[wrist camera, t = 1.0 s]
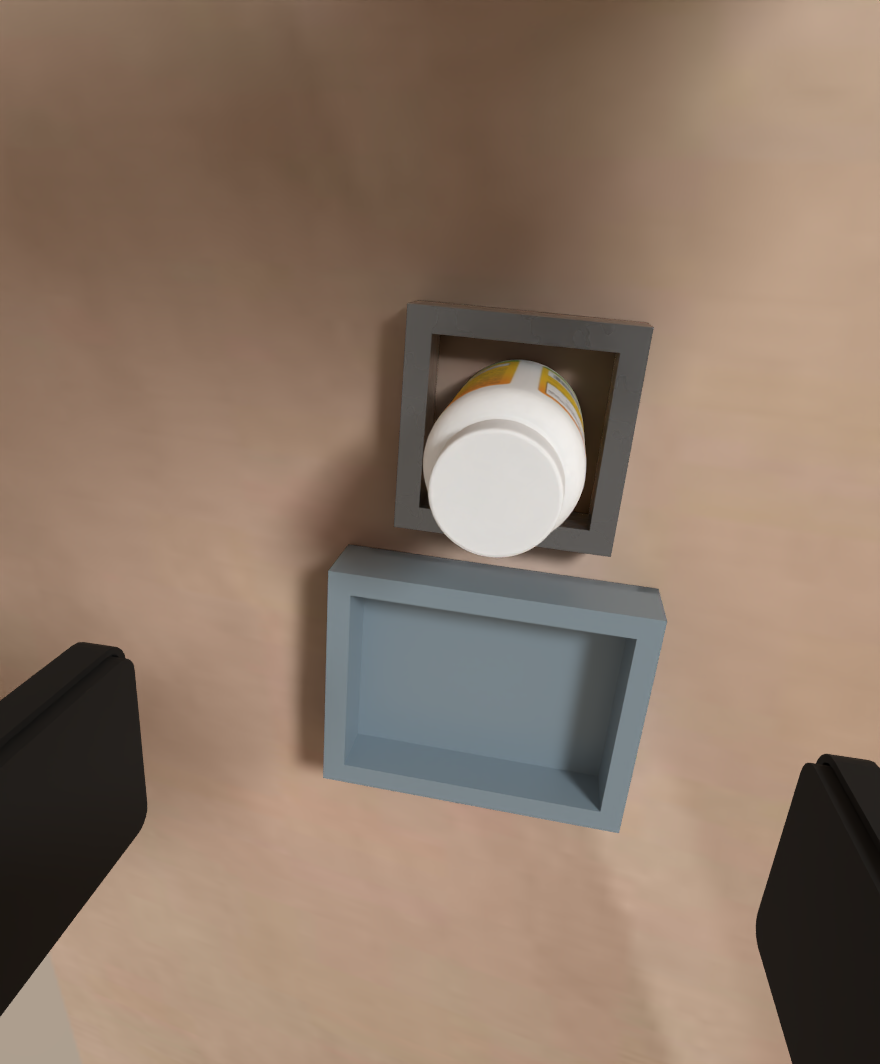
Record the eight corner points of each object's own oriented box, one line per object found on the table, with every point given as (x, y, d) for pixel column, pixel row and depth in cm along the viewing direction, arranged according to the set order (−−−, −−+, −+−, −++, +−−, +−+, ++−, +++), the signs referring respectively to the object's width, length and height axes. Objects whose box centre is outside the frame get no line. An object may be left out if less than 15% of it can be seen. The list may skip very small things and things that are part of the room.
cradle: (418, 300, 28) (407, 303, 26) (647, 322, 27) (653, 327, 25) (403, 510, 32) (394, 526, 30) (608, 538, 31) (610, 556, 29)
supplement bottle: (440, 468, 31) (387, 554, 22) (469, 343, 29) (423, 382, 20) (561, 499, 30) (558, 601, 21) (599, 375, 28) (613, 431, 19)
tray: (348, 544, 33) (328, 571, 30) (658, 589, 31) (667, 621, 28) (341, 738, 37) (323, 777, 34) (614, 787, 35) (618, 833, 32)
